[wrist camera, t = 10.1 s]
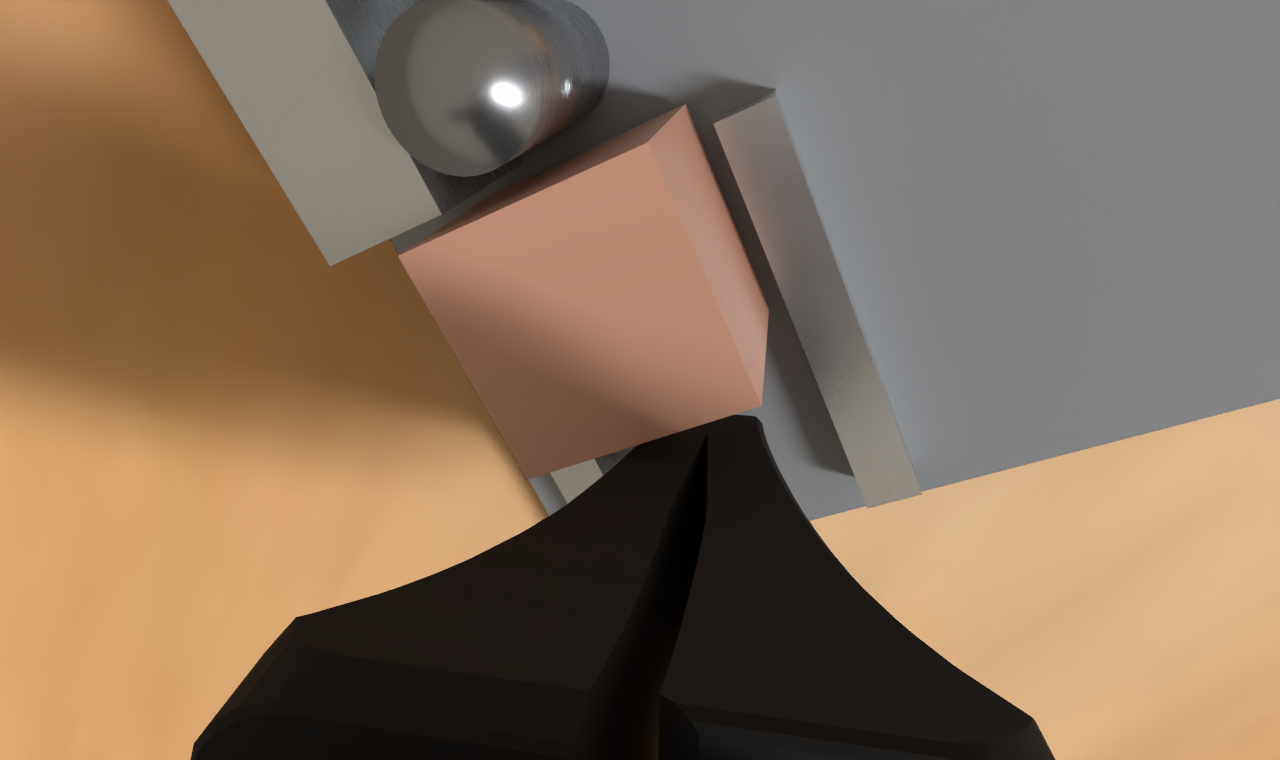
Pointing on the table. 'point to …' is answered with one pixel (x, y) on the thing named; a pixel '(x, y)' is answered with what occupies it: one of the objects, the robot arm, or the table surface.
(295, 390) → the table surface
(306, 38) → the base
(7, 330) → the table surface
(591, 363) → the tab
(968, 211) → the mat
